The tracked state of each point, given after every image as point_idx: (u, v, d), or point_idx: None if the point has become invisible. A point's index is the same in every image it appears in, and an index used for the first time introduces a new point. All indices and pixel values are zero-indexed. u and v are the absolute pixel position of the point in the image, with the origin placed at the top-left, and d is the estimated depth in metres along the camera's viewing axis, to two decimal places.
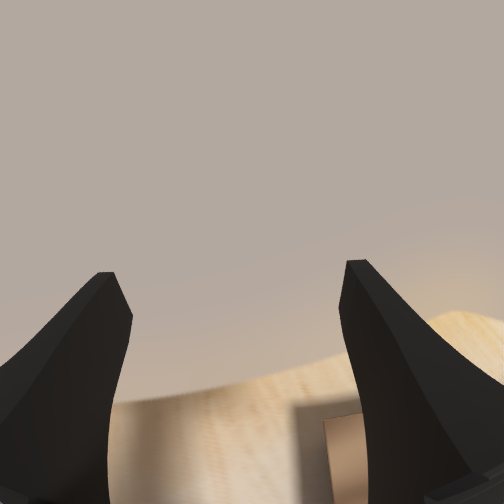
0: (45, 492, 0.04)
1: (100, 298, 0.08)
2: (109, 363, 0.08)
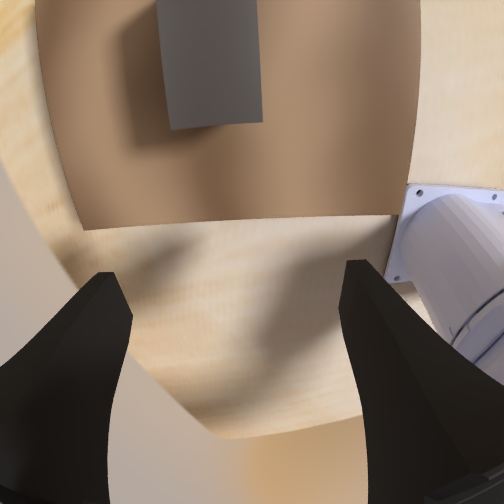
0: (45, 492, 0.04)
1: (100, 298, 0.08)
2: (109, 363, 0.08)
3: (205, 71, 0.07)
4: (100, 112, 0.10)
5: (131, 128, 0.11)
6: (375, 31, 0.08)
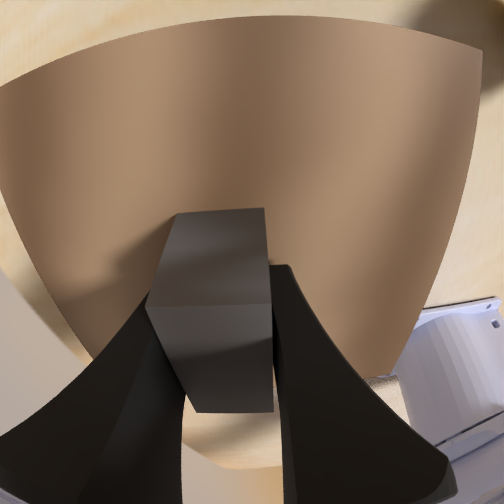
0: None
1: None
2: None
3: (223, 393, 0.08)
4: (113, 321, 0.11)
5: None
6: (397, 257, 0.09)
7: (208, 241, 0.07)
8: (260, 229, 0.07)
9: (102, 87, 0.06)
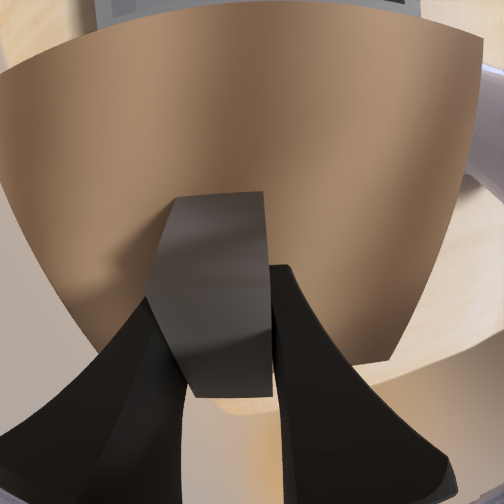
0: None
1: None
2: None
3: (222, 377, 0.08)
4: (112, 307, 0.11)
5: None
6: (397, 242, 0.09)
7: (207, 224, 0.07)
8: (259, 212, 0.07)
9: (100, 73, 0.06)
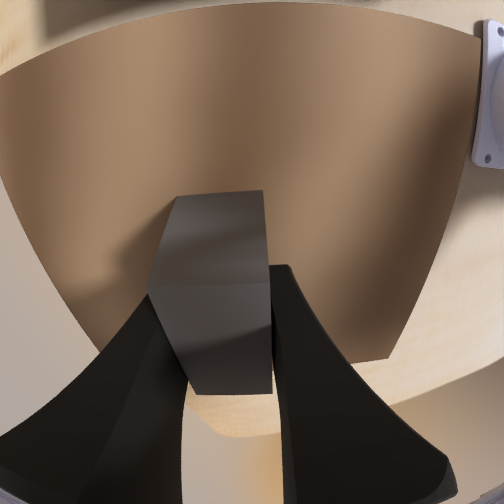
0: None
1: None
2: None
3: (223, 374, 0.08)
4: (113, 305, 0.12)
5: None
6: (395, 241, 0.10)
7: (207, 223, 0.07)
8: (259, 211, 0.08)
9: (102, 73, 0.06)
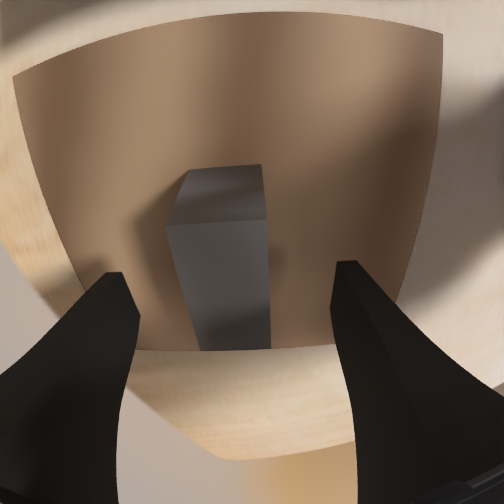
0: (55, 496, 0.04)
1: (109, 298, 0.08)
2: (118, 363, 0.08)
3: (226, 323, 0.09)
4: (125, 278, 0.13)
5: (155, 292, 0.13)
6: (378, 212, 0.11)
7: (215, 185, 0.09)
8: (258, 177, 0.09)
9: (131, 65, 0.08)
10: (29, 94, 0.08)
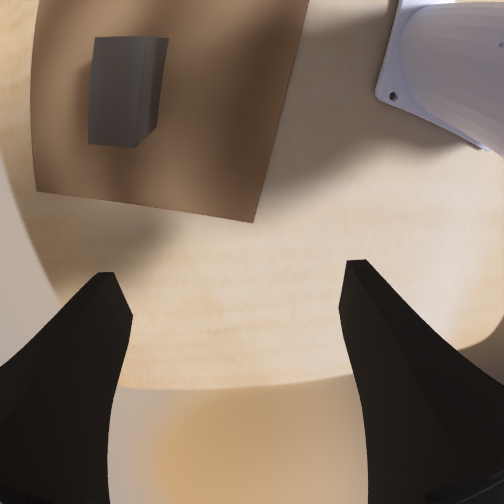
0: (45, 492, 0.04)
1: (100, 298, 0.08)
2: (109, 363, 0.08)
3: (109, 114, 0.11)
4: (61, 115, 0.14)
5: (77, 130, 0.15)
6: (247, 86, 0.14)
7: None
8: (160, 37, 0.11)
9: None
10: None
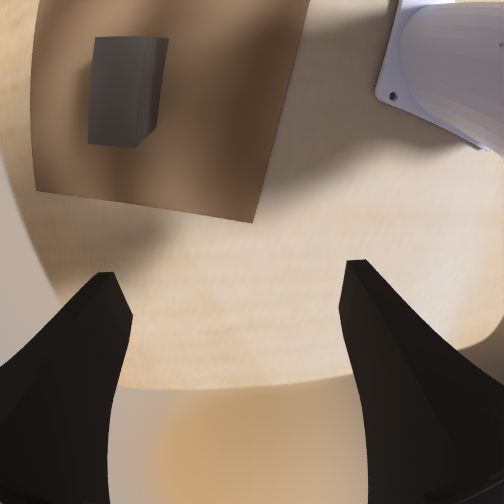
0: (45, 492, 0.04)
1: (100, 298, 0.08)
2: (109, 363, 0.08)
3: (109, 114, 0.11)
4: (61, 115, 0.14)
5: (77, 130, 0.15)
6: (247, 86, 0.14)
7: None
8: (160, 37, 0.11)
9: None
10: None
